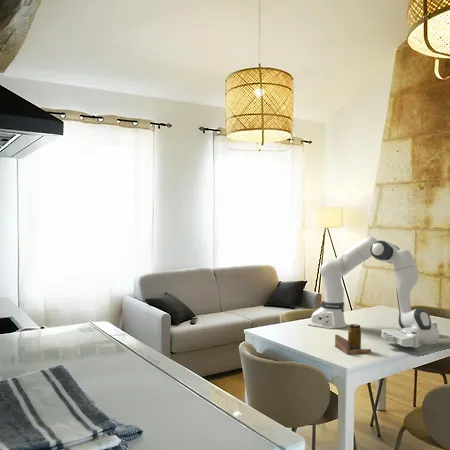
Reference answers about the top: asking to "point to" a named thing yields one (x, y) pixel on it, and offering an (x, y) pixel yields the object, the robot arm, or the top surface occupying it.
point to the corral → (347, 346)
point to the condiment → (354, 337)
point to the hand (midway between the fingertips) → (382, 337)
